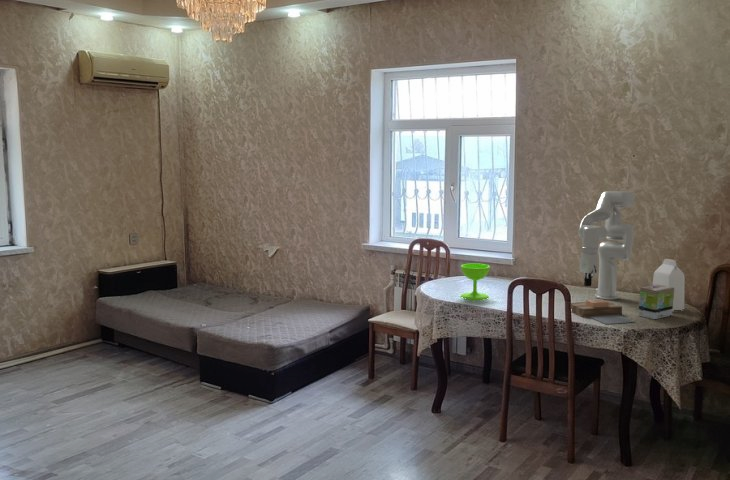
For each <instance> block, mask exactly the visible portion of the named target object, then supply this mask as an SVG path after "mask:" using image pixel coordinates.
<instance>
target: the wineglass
mask: <svg viewBox="0 0 730 480" xmlns="http://www.w3.org/2000/svg"><path fill="white" fill-rule="evenodd" d="M460 268H461V271H462V274H463V275H464V277H465V278H467V279H469V280H471V281H472V280H473V281H472V283H473V285H472V286H473V288H472V292H465V293H462V294H461V295H460V298H461V297H463V298H466V299H471V300H470V301H473V300H481V301H483V300H482V299H487V298H489V299H490V297H489V295H488V294H485V293H481V292H478V289H477V287H478V285H477V283H478V281H479V280H482V279H484V278H485V277H486V276H487V275H488V274H489V271H490V268H491V266H490V265H489V264H485V263H464V264H461V265H460ZM487 300H488V299H487Z"/></svg>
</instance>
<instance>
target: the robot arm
mask: <svg viewBox="0 0 730 480" xmlns="http://www.w3.org/2000/svg"><path fill="white" fill-rule="evenodd" d="M635 201H636V196H635V193H633V192H632V191H622V190H621V191H619V190H607V191H603V192H602V193H601V195H600V196H599V199H598V202H597V205H596V207H595V209H594V210H593V211H591V212H589V213H588V214H587V215H585V216H584V217H583V218H582V220H581V222H580V223H579V227H578V230H577V231H578V232H577V234H578V237H579V238H580V239H582V244H581V246H582V247H581V253H580V257H579V265H578V270H579V271H580V272H581V273H582V274H583V279H584V282H583V284H584V285H583V286H585V287H591V286H592V281H593V277H595V276H596V274H597V272H598V283H597V284H598V285H597V288H595V291H596V293H594V297H595V298H596V299H603V300H606V301H608V300H610V301H611V300H613V301H614V300H618V299H619V295H618V294H617V293H616V292H617V279H618V277H617V275H618V266H617V264H616V262H615V261H614V260H617V261H628V260H630V258H631V257H632V253H633V247H634V246H633V245H634V241H635V240H634V239H635V228H634V226H633V225H632V224H629V223H622V220H623V213H622V212H621V210H620V209H619V208H631V207H633V206H634V205H635ZM603 221H605V222H604V225H595V223H600V222H603ZM593 224H594V225H593ZM605 239H606V240H610V241H604V240H605ZM599 241H603V242H600V243H599ZM616 241H618V242H616ZM619 241H622V242H619Z"/></svg>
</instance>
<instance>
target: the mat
mask: <svg viewBox="0 0 730 480" xmlns="http://www.w3.org/2000/svg"><path fill="white" fill-rule="evenodd" d="M589 318H590V319H593V320H595V321H597V322H599V323H601V324H604V325H607V326H608V325H618V324H619V323H621V324H631V323H630V322H635V323H636V321H635V320H632V319H630V318H626V317H625V316H622V315H605V316H590V317H589Z"/></svg>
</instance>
